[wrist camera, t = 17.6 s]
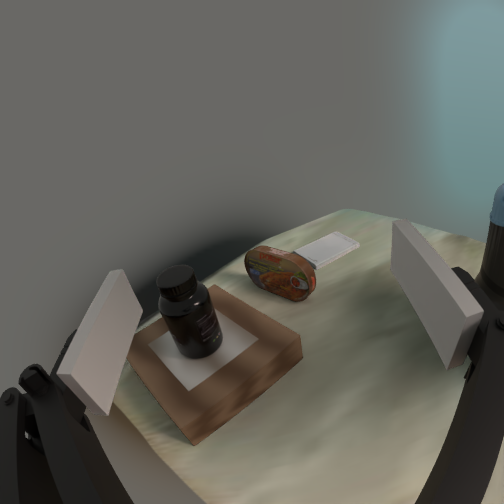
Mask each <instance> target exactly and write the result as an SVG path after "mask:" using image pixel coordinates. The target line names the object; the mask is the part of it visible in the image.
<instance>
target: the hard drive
mask: <svg viewBox="0 0 504 504" xmlns="http://www.w3.org/2000/svg"><path fill="white" fill-rule="evenodd" d="M358 247H359V243H358V242H357V241H355V240H353V239H351V238H349V237H347V236H345V235H343V234H341V233H338V232H336V231H335V232H333V233H330V234H328V235H326V236H324V237H322V238H320V239H318V240H315V241H313V242H311V243H309V244H307V245H305V246H303V247H301V248H298V249H296V250H294V251H293V254H296V255H299V256H301V257H303V258H304V259H305V260H306V261H307V262H308V263H309V264H310V265H311V266H312V267H313V268H314V269H316V270H317V269H319V268H321V267H323V266H325V265H327V264H328V263H330V262H332V261H334V260H336V259H338V258H340V257H341V256H343V255H345V254H347V253H349V252H351V251H352V250H354V249H356V248H358Z"/></svg>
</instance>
